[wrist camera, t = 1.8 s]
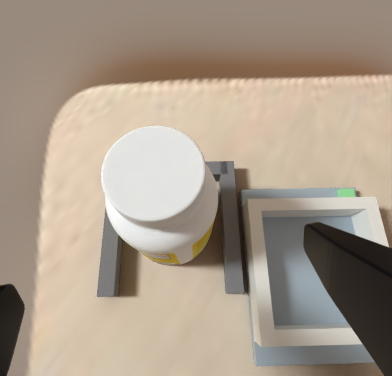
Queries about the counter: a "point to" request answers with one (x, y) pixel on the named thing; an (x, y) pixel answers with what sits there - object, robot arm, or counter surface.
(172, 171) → the supplement bottle
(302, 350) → the panel
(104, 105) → the counter surface
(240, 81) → the counter surface
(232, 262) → the holster cradle
